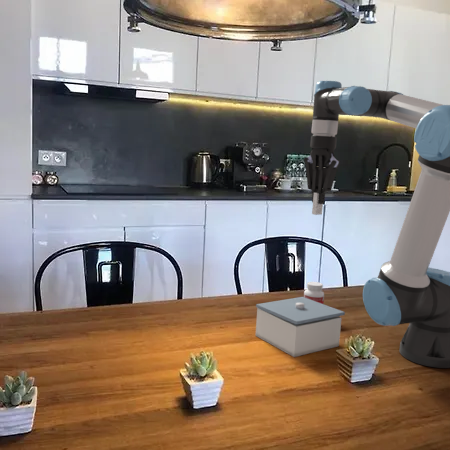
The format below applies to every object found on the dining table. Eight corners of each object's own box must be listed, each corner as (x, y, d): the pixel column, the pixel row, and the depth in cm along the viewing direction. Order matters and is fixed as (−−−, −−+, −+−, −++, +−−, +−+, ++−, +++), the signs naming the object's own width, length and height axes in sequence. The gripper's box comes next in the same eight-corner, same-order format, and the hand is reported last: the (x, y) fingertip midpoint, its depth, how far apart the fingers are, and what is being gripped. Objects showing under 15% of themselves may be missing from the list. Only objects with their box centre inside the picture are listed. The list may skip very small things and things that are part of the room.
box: (338, 346, 143) (341, 317, 142) (293, 357, 134) (296, 326, 133) (298, 326, 156) (301, 300, 155) (255, 335, 147) (257, 307, 146)
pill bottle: (324, 321, 162) (328, 286, 160) (305, 321, 161) (308, 286, 159) (318, 314, 168) (321, 281, 166) (299, 314, 167) (302, 280, 165)
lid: (344, 314, 141) (345, 307, 141) (296, 324, 132) (296, 316, 132) (302, 299, 155) (302, 292, 155) (256, 307, 145) (256, 300, 145)
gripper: (349, 136, 154) (341, 217, 158) (317, 135, 164) (310, 210, 168) (331, 135, 150) (323, 218, 154) (299, 133, 160) (293, 211, 164)
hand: (316, 214), depth 161 cm, fingers closed
